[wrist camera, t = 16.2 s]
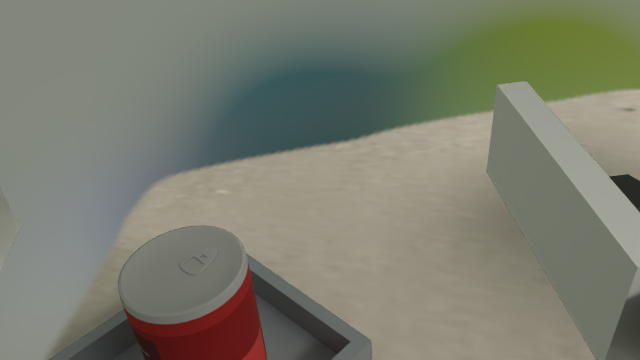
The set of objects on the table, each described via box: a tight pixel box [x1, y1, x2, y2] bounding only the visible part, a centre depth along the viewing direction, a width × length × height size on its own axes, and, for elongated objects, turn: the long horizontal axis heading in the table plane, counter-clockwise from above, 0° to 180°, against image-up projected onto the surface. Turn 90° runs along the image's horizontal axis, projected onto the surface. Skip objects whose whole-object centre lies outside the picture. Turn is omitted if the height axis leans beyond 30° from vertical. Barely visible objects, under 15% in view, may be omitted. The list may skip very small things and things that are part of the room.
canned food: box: [118, 226, 267, 360], centre depth 39 cm, size 8×8×11 cm
